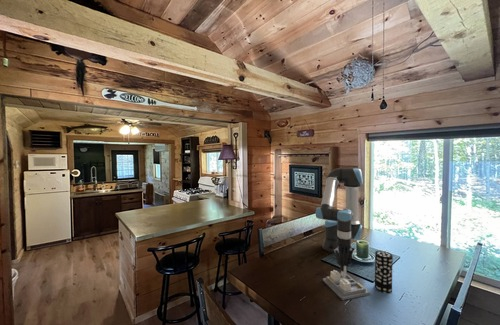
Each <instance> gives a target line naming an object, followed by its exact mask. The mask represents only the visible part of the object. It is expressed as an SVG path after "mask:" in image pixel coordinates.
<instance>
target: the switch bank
mask: <svg viewBox="0 0 500 325" xmlns="http://www.w3.org/2000/svg"><path fill="white" fill-rule="evenodd" d="M343 279H346V280H348V281H349V282H350V283H351V291H346V292H344V291H343V290H342V289H341V288H340V281H337V282H333V281H332V280H331V275H328V276H326V277H324V278H322V281H323V282H324V284H326V285H327V286H328V287H329V288H330V289H331V290H332V291H333V293H334V294H336V295H337V296H338V297H339V299H340V300H342V301H346V300H350V299H355V298H359V297H364V296H369V295H371V292H370V291H369V290H367V288H365V287H364V285H362V284H361V283H359V282H358V281H356V280H355V279H354V278H353V277H351V276H350V275H349V274H347V273H346V277H343V276H342V275H341V280H343Z"/></svg>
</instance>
